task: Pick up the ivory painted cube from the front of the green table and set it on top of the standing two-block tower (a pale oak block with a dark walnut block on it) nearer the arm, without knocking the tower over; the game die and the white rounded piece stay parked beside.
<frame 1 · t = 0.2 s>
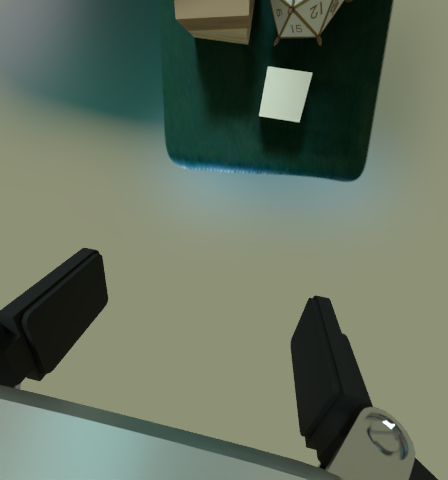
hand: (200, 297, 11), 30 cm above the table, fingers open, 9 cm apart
game die: (301, 7, 28), on the table
ivory cube: (281, 97, 32), on the table
oak block: (225, 4, 28), on the table
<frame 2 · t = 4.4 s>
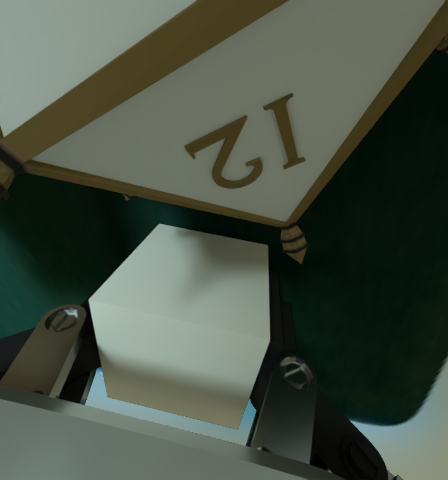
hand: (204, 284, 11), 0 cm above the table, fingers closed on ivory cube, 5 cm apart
game die: (236, 51, 8), on the table
ivory cube: (207, 277, 12), on the table, touching gripper
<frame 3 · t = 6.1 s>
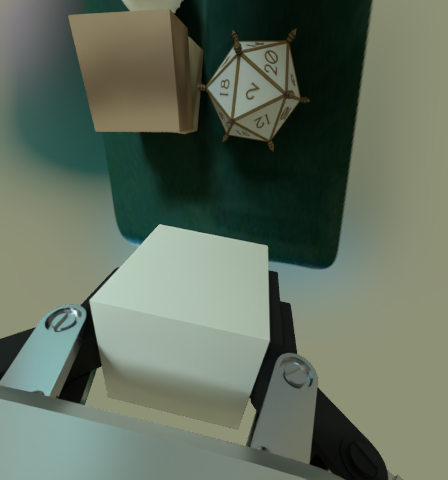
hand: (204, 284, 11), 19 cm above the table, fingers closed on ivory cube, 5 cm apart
game die: (255, 96, 24), on the table
ivory cube: (207, 278, 12), point 19 cm above the table, touching gripper
walnut block: (151, 83, 20), point 5 cm above the table
oak block: (168, 88, 25), on the table
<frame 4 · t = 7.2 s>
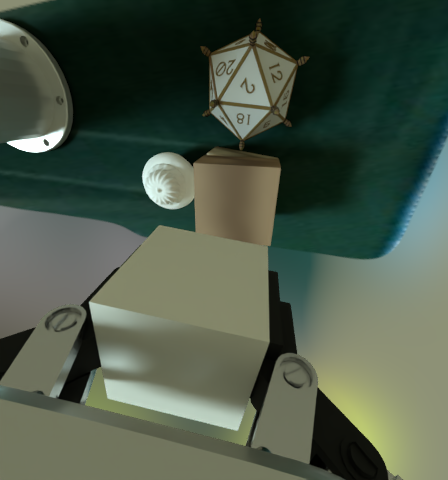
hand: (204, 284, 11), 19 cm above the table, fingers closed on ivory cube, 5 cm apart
game die: (252, 93, 24), on the table
ivory cube: (206, 278, 12), point 19 cm above the table, touching gripper
walnut block: (238, 193, 24), point 5 cm above the table
white rounded piece: (180, 174, 29), on the table
oak block: (241, 182, 28), on the table
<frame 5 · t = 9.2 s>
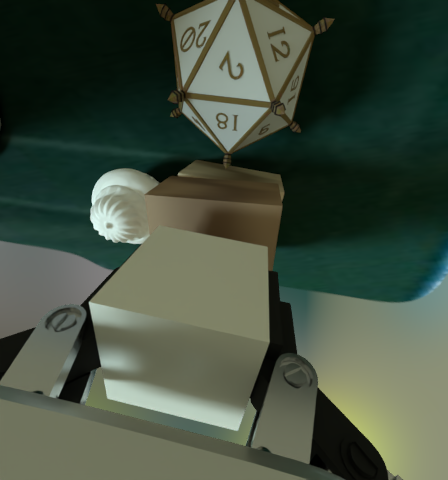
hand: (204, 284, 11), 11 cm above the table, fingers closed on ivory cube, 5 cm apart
game die: (243, 83, 17), on the table
ivory cube: (206, 279, 12), point 11 cm above the table, touching gripper
walnut block: (221, 228, 17), point 5 cm above the table, touching oak block
white rounded piece: (150, 193, 22), on the table
oak block: (231, 205, 21), on the table, touching walnut block
when the fingers open (11 cm above the table, at t = 10.2 s): ivory cube drops 1 cm, resting on walnut block.
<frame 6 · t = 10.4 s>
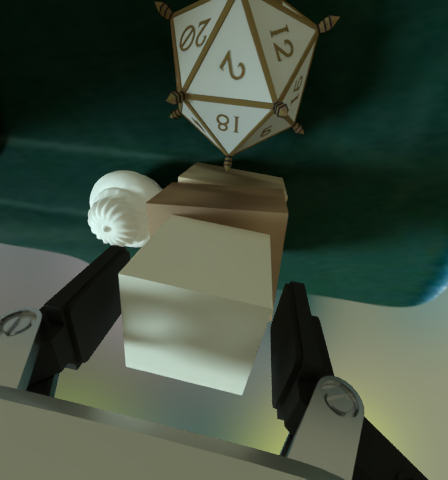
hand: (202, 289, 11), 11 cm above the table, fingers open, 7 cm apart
game die: (244, 83, 16), on the table
ivory cube: (213, 264, 13), point 9 cm above the table, touching walnut block
walnut block: (224, 234, 17), point 5 cm above the table, touching ivory cube, oak block
white rounded piece: (150, 196, 22), on the table
oak block: (232, 209, 21), on the table, touching walnut block
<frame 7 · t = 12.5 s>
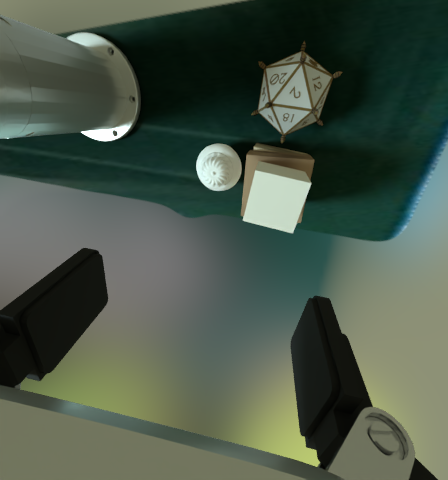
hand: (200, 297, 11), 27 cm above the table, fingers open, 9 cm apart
game die: (290, 97, 30), on the table
ivory cube: (274, 188, 26), point 9 cm above the table, touching walnut block
walnut block: (274, 181, 30), point 5 cm above the table, touching ivory cube, oak block
white rounded piece: (223, 163, 35), on the table
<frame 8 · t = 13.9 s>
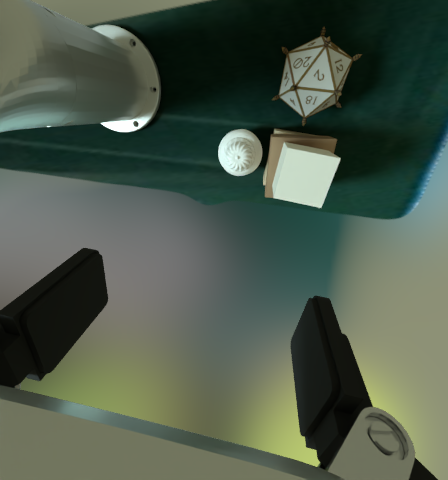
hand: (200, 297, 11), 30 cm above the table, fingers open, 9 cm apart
game die: (307, 82, 31), on the table
ivory cube: (298, 168, 28), point 9 cm above the table
walnut block: (294, 163, 31), point 5 cm above the table
white rounded piece: (242, 149, 36), on the table
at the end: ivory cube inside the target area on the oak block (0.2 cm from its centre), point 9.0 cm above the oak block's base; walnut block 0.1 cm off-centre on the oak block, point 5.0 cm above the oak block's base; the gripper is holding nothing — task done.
